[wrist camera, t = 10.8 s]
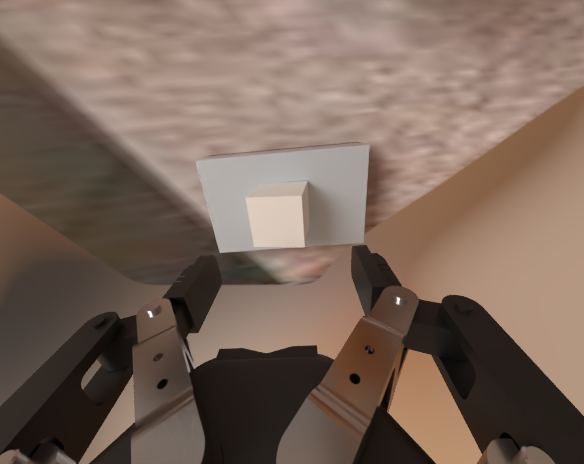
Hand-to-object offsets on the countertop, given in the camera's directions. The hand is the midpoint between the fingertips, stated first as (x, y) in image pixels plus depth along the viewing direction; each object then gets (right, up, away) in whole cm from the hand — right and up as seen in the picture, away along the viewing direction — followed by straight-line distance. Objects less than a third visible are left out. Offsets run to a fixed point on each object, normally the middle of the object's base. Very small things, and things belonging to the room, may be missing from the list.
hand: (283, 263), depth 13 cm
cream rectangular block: (0, +6, +12) cm, 13 cm away
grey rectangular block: (0, +6, +13) cm, 14 cm away
